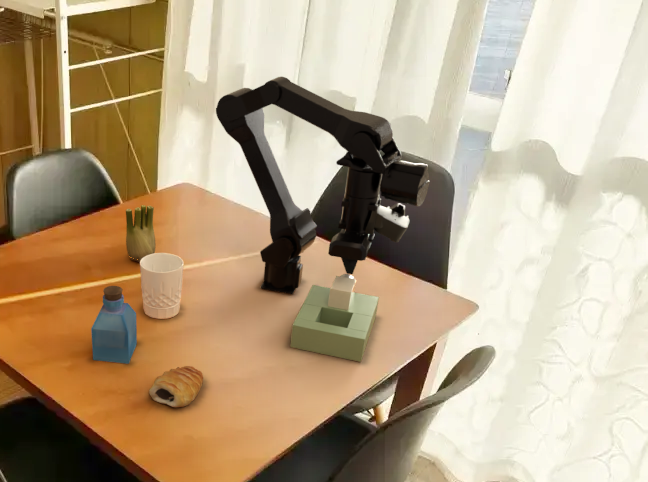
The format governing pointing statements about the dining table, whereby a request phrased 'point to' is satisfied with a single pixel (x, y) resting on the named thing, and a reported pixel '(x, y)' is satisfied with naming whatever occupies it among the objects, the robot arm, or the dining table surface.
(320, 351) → the stand
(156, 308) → the white cup
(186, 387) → the pastry
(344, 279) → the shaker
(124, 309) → the perfume bottle
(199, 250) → the dining table surface
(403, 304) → the dining table surface
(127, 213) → the fennel bulb
